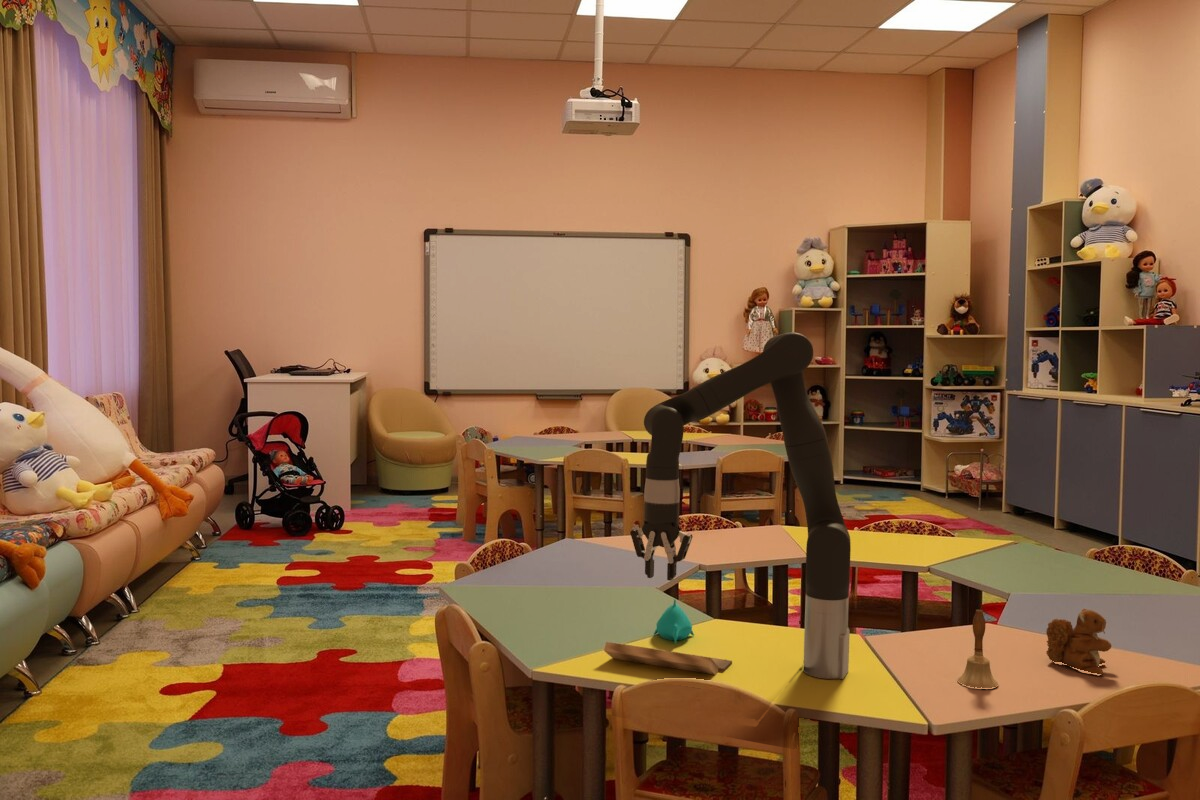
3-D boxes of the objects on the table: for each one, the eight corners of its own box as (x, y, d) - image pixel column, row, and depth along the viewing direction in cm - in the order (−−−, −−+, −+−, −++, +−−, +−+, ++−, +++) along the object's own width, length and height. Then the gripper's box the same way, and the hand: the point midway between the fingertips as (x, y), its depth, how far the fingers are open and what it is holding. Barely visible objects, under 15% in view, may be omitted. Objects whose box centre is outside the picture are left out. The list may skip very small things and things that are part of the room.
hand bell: (973, 691, 213) (976, 616, 212) (949, 678, 221) (951, 606, 220) (1006, 688, 215) (1010, 614, 214) (981, 675, 223) (984, 604, 222)
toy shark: (692, 632, 252) (693, 589, 251) (696, 655, 234) (697, 609, 233) (653, 631, 252) (653, 588, 252) (654, 654, 234) (655, 608, 234)
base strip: (731, 668, 225) (732, 660, 225) (723, 677, 219) (723, 668, 219) (623, 651, 236) (623, 644, 235) (613, 659, 230) (613, 651, 230)
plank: (717, 676, 218) (718, 667, 219) (708, 667, 213) (710, 657, 214) (614, 659, 228) (616, 651, 229) (604, 650, 223) (606, 641, 223)
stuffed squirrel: (1104, 678, 222) (1107, 619, 222) (1036, 665, 231) (1039, 607, 230) (1114, 667, 230) (1117, 610, 229) (1048, 654, 239) (1051, 599, 238)
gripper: (699, 499, 218) (697, 578, 219) (637, 494, 224) (636, 571, 225) (687, 504, 211) (685, 586, 212) (624, 499, 217) (623, 578, 218)
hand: (660, 578), depth 218 cm, fingers open, 4 cm apart
